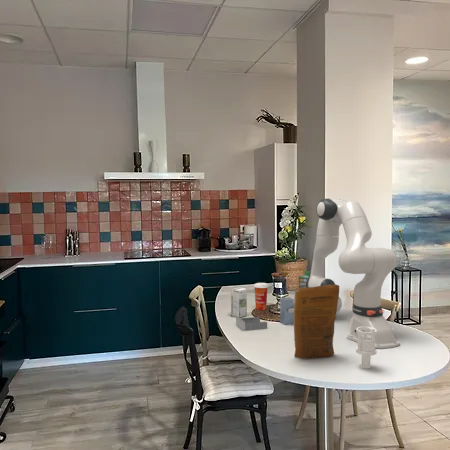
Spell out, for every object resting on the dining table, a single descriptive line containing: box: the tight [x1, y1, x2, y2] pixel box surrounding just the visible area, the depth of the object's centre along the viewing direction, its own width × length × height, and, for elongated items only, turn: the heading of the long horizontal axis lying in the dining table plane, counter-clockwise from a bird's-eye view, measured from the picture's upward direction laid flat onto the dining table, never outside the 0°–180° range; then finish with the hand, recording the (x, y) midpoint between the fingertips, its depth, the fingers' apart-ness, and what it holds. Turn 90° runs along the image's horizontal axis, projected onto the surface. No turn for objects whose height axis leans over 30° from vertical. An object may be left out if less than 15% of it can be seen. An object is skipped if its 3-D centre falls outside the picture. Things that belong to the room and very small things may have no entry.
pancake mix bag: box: [293, 284, 340, 360], centre depth 168 cm, size 7×19×28 cm, turn 101°
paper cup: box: [253, 282, 269, 311], centre depth 239 cm, size 8×8×14 cm
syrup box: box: [230, 286, 248, 318], centre depth 226 cm, size 6×6×14 cm
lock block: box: [279, 296, 294, 326], centre depth 213 cm, size 5×6×12 cm
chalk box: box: [298, 270, 310, 288], centre depth 275 cm, size 9×9×15 cm
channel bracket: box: [235, 316, 268, 332], centre depth 208 cm, size 12×10×4 cm
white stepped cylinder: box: [355, 327, 377, 370], centre depth 158 cm, size 7×7×15 cm
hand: (285, 308), depth 213 cm, fingers closed on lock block, 5 cm apart
